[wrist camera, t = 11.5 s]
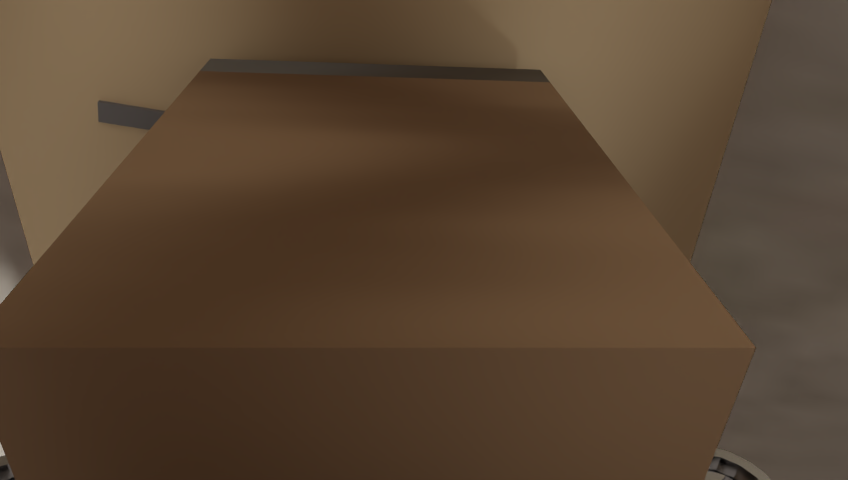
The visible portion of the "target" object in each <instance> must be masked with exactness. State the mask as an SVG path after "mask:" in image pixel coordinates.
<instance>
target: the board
mask: <svg viewBox="0 0 848 480" xmlns="http://www.w3.org/2000/svg"><path fill="white" fill-rule="evenodd" d="M771 2H772V0H0V151H1V154H2V158H3V161H4V165H5V168H6V172H7V175H8V179H9V182H10V186H11V189H12V193H13V196H14V200H15V203H16V207H17V210H18V213H19V217H20V220H21V224H22V227H23V231H24V234H25V238H26V241H27V245H28V248H29V252H30V255H31V259H32V262H33V266H34V264H35V263H36V262H37V261H38V260H39V259H40V257H41V256H42V255H43V254H44V253H45V252H46V250H47V249H48V248H49V247H50V246H51V245H52V243H53V242H54V241H55V240H56V239H57V238H58V236H59V235H60V234H61V233H62V232H63V231H64V229H65V228H66V227H67V226H68V225H69V224H70V222H71V221H72V220H73V219H74V218H75V216H76V215H77V214H78V213H79V212H80V211H81V209H82V208H83V207H84V206H85V205H86V204H87V202H88V201H89V200H90V199H91V198H92V197H93V195H94V194H95V193H96V192H97V191H98V190H99V188H100V187H101V186H102V185H103V184H104V183H105V181H106V180H107V179H108V178H109V177H110V175H111V174H112V173H113V172H114V171H115V170H116V168H117V167H118V166H119V165H120V164H121V163H122V161H123V160H124V159H125V158H126V157H127V156H128V154H129V153H130V152H131V151H132V150H133V149H134V147H135V146H136V145H137V144H138V143H139V142H140V140H141V139H142V138H143V137H144V136H145V134H146V133H147V132H148V131H149V130H150V129H151V127H152V126H153V125H154V124H155V123H156V122H157V120H158V119H159V118H160V117H161V116H162V115H163V113H164V112H165V111H166V110H167V109H168V108H169V106H170V105H171V104H172V103H173V102H174V101H175V99H176V98H177V97H178V96H179V95H180V94H181V92H182V91H183V90H184V89H185V88H186V86H187V85H188V84H189V83H190V82H191V81H192V79H193V78H194V77H195V76H196V75H197V74H198V72H199V71H200V70H201V69H202V68H203V67H204V65H205V64H206V63H207V62H208V61H209V60H210V58H211V59H241V60H270V61H299V62H329V63H358V64H388V65H417V66H447V67H476V68H506V69H535V70H541V71H542V72H543V74H544V75H545V76H546V78H547V79H548V80H549V81H550V83H551V84H552V85H553V87H554V88H555V89H556V90H557V92H558V93H559V94H560V96H561V97H562V98H563V99H564V101H565V102H566V103H567V105H568V106H569V107H570V109H571V110H572V111H573V112H574V114H575V115H576V116H577V118H578V119H579V120H580V121H581V123H582V124H583V125H584V127H585V128H586V129H587V130H588V132H589V133H590V134H591V136H592V137H593V138H594V140H595V141H596V142H597V143H598V145H599V146H600V147H601V149H602V150H603V151H604V152H605V154H606V155H607V156H608V158H609V159H610V160H611V161H612V163H613V164H614V165H615V167H616V168H617V169H618V170H619V172H620V173H621V174H622V176H623V177H624V178H625V180H626V181H627V182H628V183H629V185H630V186H631V187H632V189H633V190H634V191H635V192H636V194H637V195H638V196H639V198H640V199H641V200H642V201H643V203H644V204H645V205H646V207H647V208H648V209H649V210H650V212H651V213H652V214H653V216H654V217H655V218H656V220H657V221H658V222H659V223H660V225H661V226H662V227H663V229H664V230H665V231H666V232H667V234H668V235H669V236H670V238H671V239H672V240H673V241H674V243H675V244H676V245H677V247H678V248H679V249H680V251H681V252H682V253H683V254H684V256H685V257H686V258H687V260H688V261H689V262H690V261H691V258H692V255H693V252H694V249H695V245H696V242H697V239H698V236H699V233H700V229H701V226H702V223H703V220H704V217H705V213H706V210H707V207H708V204H709V201H710V197H711V194H712V191H713V188H714V185H715V181H716V178H717V175H718V172H719V169H720V165H721V162H722V159H723V156H724V152H725V149H726V146H727V143H728V140H729V136H730V133H731V130H732V127H733V124H734V120H735V117H736V114H737V111H738V108H739V104H740V101H741V98H742V95H743V92H744V88H745V85H746V82H747V79H748V76H749V72H750V69H751V66H752V63H753V60H754V56H755V53H756V50H757V47H758V44H759V40H760V37H761V34H762V31H763V28H764V24H765V21H766V18H767V15H768V11H769V8H770V5H771Z"/></svg>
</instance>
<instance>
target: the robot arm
mask: <svg viewBox="0 0 848 480" xmlns="http://www.w3.org/2000/svg"><path fill="white" fill-rule="evenodd" d="M0 480H15V478H14V475H13V473H12V470H11V468H10V465H9V463H8V460H7V458H6V455H5V456H1V457H0ZM704 480H771V479H770V478H769V477H768V476H767V474H766V473H764V472H763V471H762V470H760V469H759V468H758V467H756V466H755V465H753V464H752V463H751V462H749V461H748V460H746V459H744V458H742V457H740V456H738V455H736V454H734V453H732V452H729V451H726V450H723V449H719V448H717V449H716V451H715V454H714V456H713V459H712V461H711V464H710V466H709V469H708V471H707V474H706V477H705V479H704Z"/></svg>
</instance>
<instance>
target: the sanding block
mask: <svg viewBox="0 0 848 480" xmlns="http://www.w3.org/2000/svg"><path fill="white" fill-rule="evenodd" d="M755 349H756V347H755V346H754V345H753V343H752V342H751V341H750V340H749V338H748V337H747V336H746V334H745V333H744V332H743V331H742V329H741V328H740V327H739V325H738V324H737V323H736V321H735V320H734V319H733V318H732V316H731V315H730V314H729V312H728V311H727V310H726V309H725V307H724V306H723V305H722V303H721V302H720V301H719V300H718V298H717V297H716V296H715V294H714V293H713V292H712V291H711V289H710V288H709V287H708V285H707V284H706V283H705V281H704V280H703V279H702V278H701V276H700V275H699V274H698V272H697V271H696V270H695V269H694V267H693V266H692V265H691V263H690V262H689V261H688V260H687V258H686V257H685V256H684V254H683V253H682V252H681V251H680V249H679V248H678V247H677V245H676V244H675V243H674V241H673V240H672V239H671V238H670V236H669V235H668V234H667V232H666V231H665V230H664V229H663V227H662V226H661V225H660V223H659V222H658V221H657V220H656V218H655V217H654V216H653V214H652V213H651V212H650V210H649V209H648V208H647V207H646V205H645V204H644V203H643V201H642V200H641V199H640V198H639V196H638V195H637V194H636V192H635V191H634V190H633V189H632V187H631V186H630V185H629V183H628V182H627V181H626V180H625V178H624V177H623V176H622V174H621V173H620V172H619V170H618V169H617V168H616V167H615V165H614V164H613V163H612V161H611V160H610V159H609V158H608V156H607V155H606V154H605V152H604V151H603V150H602V149H601V147H600V146H599V145H598V143H597V142H596V141H595V140H594V138H593V137H592V136H591V134H590V133H589V132H588V130H587V129H586V128H585V127H584V125H583V124H582V123H581V121H580V120H579V119H578V118H577V116H576V115H575V114H574V112H573V111H572V110H571V109H570V107H569V106H568V105H567V103H566V102H565V101H564V99H563V98H562V97H561V96H560V94H559V93H558V92H557V90H556V89H555V88H554V87H553V85H552V84H551V83H550V81H549V80H548V79H547V78H546V76H545V75H544V74H543V72H542V71H541V70H535V69H506V68H476V67H447V66H417V65H388V64H358V63H329V62H299V61H270V60H241V59H211V58H210V60H209V61H208V62H207V63H206V64H205V65H204V67H203V68H202V69H201V70H200V71H199V72H198V74H197V75H196V76H195V77H194V78H193V79H192V81H191V82H190V83H189V84H188V85H187V86H186V88H185V89H184V90H183V91H182V92H181V94H180V95H179V96H178V97H177V98H176V99H175V101H174V102H173V103H172V104H171V105H170V106H169V108H168V109H167V110H166V111H165V112H164V113H163V115H162V116H161V117H160V118H159V119H158V120H157V122H156V123H155V124H154V125H153V126H152V127H151V129H150V130H149V131H148V132H147V133H146V134H145V136H144V137H143V138H142V139H141V140H140V142H139V143H138V144H137V145H136V146H135V147H134V149H133V150H132V151H131V152H130V153H129V154H128V156H127V157H126V158H125V159H124V160H123V161H122V163H121V164H120V165H119V166H118V167H117V168H116V170H115V171H114V172H113V173H112V174H111V175H110V177H109V178H108V179H107V180H106V181H105V183H104V184H103V185H102V186H101V187H100V188H99V190H98V191H97V192H96V193H95V194H94V195H93V197H92V198H91V199H90V200H89V201H88V202H87V204H86V205H85V206H84V207H83V208H82V209H81V211H80V212H79V213H78V214H77V215H76V216H75V218H74V219H73V220H72V221H71V222H70V224H69V225H68V226H67V227H66V228H65V229H64V231H63V232H62V233H61V234H60V235H59V236H58V238H57V239H56V240H55V241H54V242H53V243H52V245H51V246H50V247H49V248H48V249H47V250H46V252H45V253H44V254H43V255H42V256H41V257H40V259H39V260H38V261H37V262H36V263H35V264H34V266H33V267H32V268H31V269H30V270H29V272H28V273H27V274H26V275H25V276H24V277H23V279H22V280H21V281H20V282H19V283H18V284H17V286H16V287H15V288H14V289H13V290H12V291H11V293H10V294H9V295H8V296H7V297H6V298H5V300H4V301H3V302H2V303H1V304H0V442H1V445H2V447H3V450H4V452H5V455H6V458H7V460H8V463H9V465H10V468H11V470H12V473H13V475H14V478H15V480H704V479H705V477H706V474H707V471H708V469H709V466H710V464H711V461H712V459H713V456H714V454H715V451H716V449H717V446H718V443H719V441H720V438H721V436H722V433H723V431H724V428H725V426H726V423H727V420H728V418H729V415H730V413H731V410H732V408H733V405H734V403H735V400H736V397H737V395H738V392H739V390H740V387H741V385H742V382H743V380H744V377H745V375H746V372H747V369H748V367H749V364H750V362H751V359H752V357H753V354H754V352H755Z"/></svg>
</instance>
